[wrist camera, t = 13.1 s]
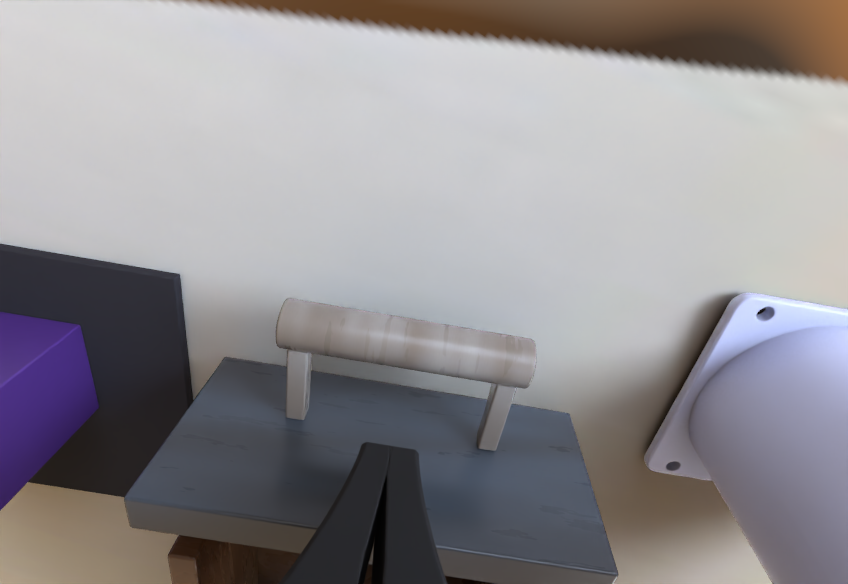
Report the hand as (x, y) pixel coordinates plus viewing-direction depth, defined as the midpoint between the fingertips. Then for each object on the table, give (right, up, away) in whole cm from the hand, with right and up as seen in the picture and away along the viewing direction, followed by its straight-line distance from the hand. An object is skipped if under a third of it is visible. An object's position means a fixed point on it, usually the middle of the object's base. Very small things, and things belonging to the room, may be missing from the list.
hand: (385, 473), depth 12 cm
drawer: (-1, -3, +7) cm, 8 cm away
